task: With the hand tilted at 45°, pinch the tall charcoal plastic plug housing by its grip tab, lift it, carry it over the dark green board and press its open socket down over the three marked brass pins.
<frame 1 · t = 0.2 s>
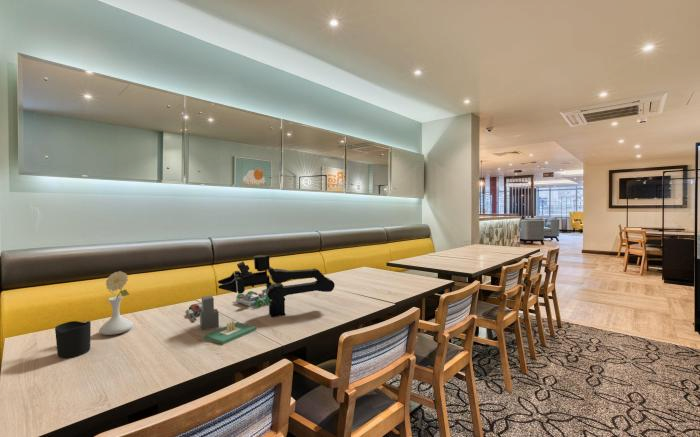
hand: (218, 284, 143), 17 cm above the table, tool horizontal, fingers open, 9 cm apart
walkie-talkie: (198, 315, 154), on the table
pen holder: (74, 353, 115), on the table
flower in vase: (118, 332, 133), on the table
robot kit: (261, 301, 175), on the table
plug housing: (209, 327, 138), on the table
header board: (230, 333, 131), on the table
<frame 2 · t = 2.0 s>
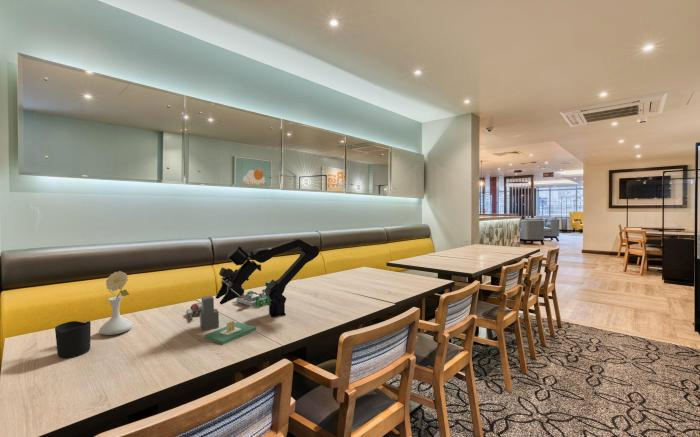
hand: (218, 301, 139), 10 cm above the table, tool tilted 45°, fingers open, 9 cm apart
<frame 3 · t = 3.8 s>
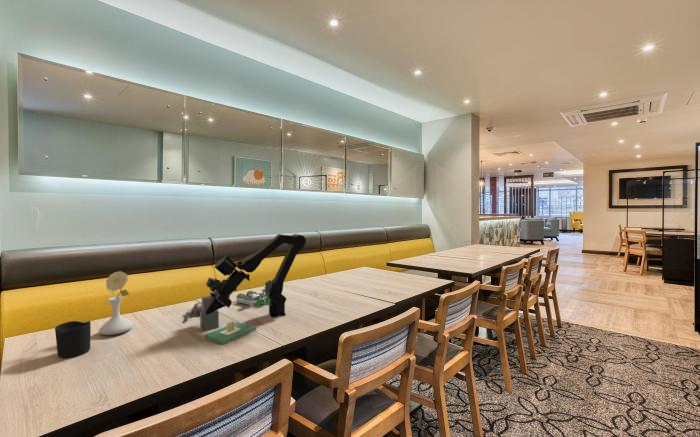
hand: (205, 312, 137), 7 cm above the table, tool tilted 45°, fingers closed on plug housing, 4 cm apart
plug housing: (209, 327, 138), on the table, touching gripper
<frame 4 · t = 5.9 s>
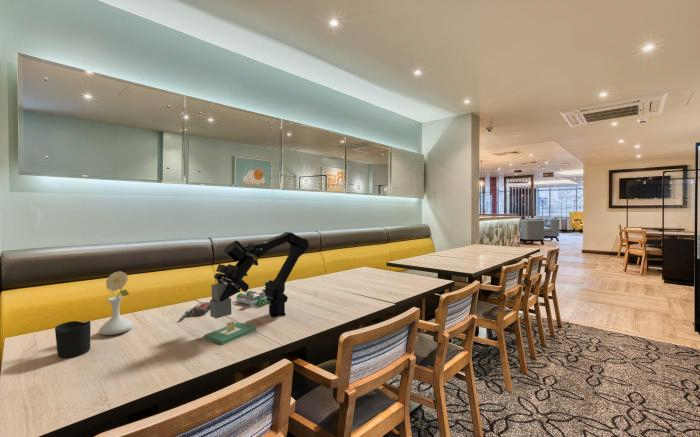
hand: (217, 299, 131), 13 cm above the table, tool tilted 45°, fingers closed on plug housing, 4 cm apart
plug housing: (221, 315, 132), point 7 cm above the table, touching gripper
when the fingers open (8 cm above the table, at t = 8.2 s): plug housing stays where it is, resting on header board.
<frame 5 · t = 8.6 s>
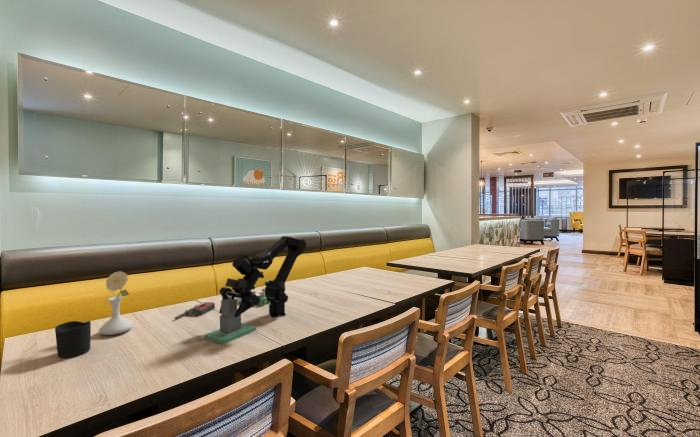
hand: (227, 314, 129), 8 cm above the table, tool tilted 45°, fingers open, 8 cm apart
plug housing: (230, 330, 131), point 1 cm above the table, touching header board
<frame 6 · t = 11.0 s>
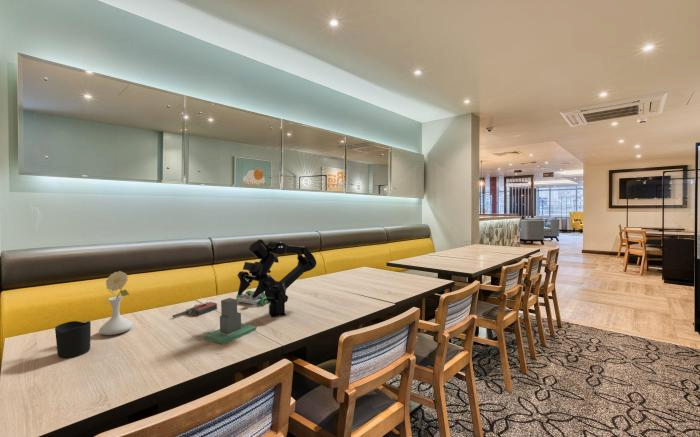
hand: (245, 296, 137), 13 cm above the table, tool tilted 45°, fingers open, 9 cm apart
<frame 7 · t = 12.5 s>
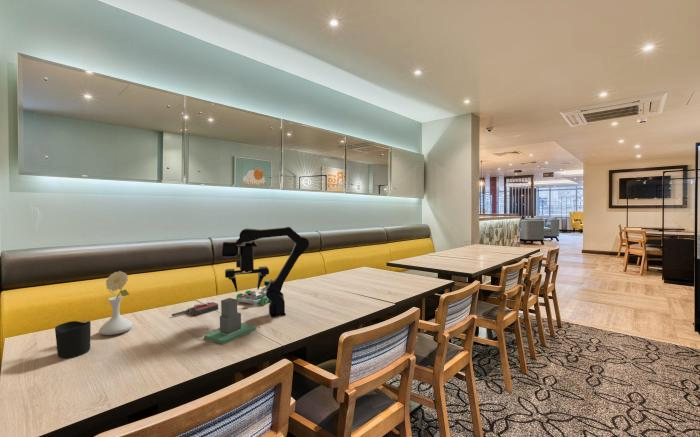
hand: (247, 290, 150), 12 cm above the table, tool pointing down, fingers open, 9 cm apart
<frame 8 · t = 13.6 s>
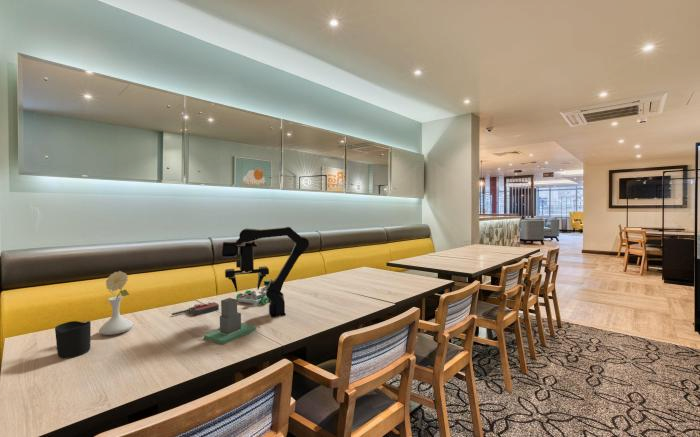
hand: (247, 290, 150), 12 cm above the table, tool pointing down, fingers open, 9 cm apart
at the end: plug housing 0.0 cm off-centre on the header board, point 1.3 cm above the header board's base; plug housing tilted 0°; the gripper is holding nothing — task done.
